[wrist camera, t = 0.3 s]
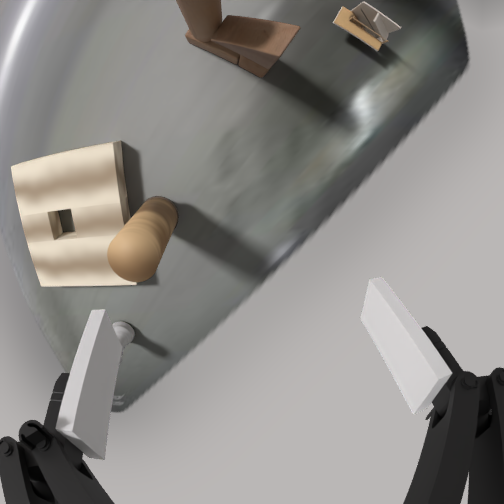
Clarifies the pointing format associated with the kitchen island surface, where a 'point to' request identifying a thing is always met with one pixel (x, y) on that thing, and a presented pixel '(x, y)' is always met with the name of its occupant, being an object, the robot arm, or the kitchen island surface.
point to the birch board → (73, 213)
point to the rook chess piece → (123, 334)
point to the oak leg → (143, 240)
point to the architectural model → (366, 24)
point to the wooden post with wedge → (236, 35)
